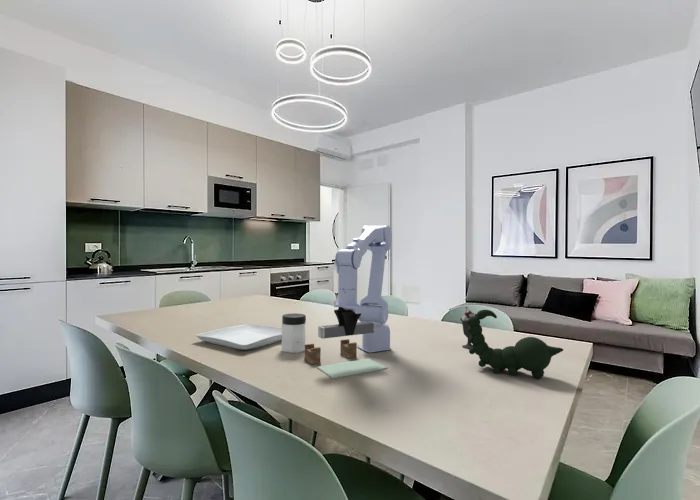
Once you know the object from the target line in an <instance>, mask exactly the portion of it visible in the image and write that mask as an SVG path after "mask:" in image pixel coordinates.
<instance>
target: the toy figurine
mask: <svg viewBox="0 0 700 500" xmlns="http://www.w3.org/2000/svg"><path fill="white" fill-rule="evenodd" d="M476 314H477V315H476V316H471V317H470V318H469V319H468V320H467V323H468V324H469V325H470V326H469V328H468V329H467V331H468V332H469V333H470V334H471V336H470V338H469V339H468V338H467V342H469V343H471V344H472V345H473V346H472V348H471V349H468V353H469V354H470V355H474V354H475V355H476V356H478V357H479V360H478V366H479V367H481V368H484V367H486V365H488V366H490V368H492V371H493V373H495V374H499V373H500V372H501V371H503V370H504V371H505V370H507V372H508V374H509V375H513V376H516V375H517V374H518V371H519V370H521V369H523V370H525V371H527V372H531V373H530V374H531V375H532V377H533V378H535V379H538V380H540V379H542V378H543V377H544V375H545V369H546V368H547V367H549V365H550V363H551V361H552V357H554V356H555V355H558V354H560V353H562V352H564V349H563V348H561V347H557V346H551V345H548V344H547V343H546V342H544V340H542V339H540V338H538V337H535V336H526V337H522V338H521V339H519V340H518V341H517V342H516V343H515V345H514V346H513V345H509V346H508V345H507V346H506V347H503V348H493V347H490V346H489V344H488V342H486V339H485V338H486V337H485V335H484V334H483V327H482V326H481V320H483V319H485V318H487V317H493V319H498V315H497V314H495V312H493V311H492V310H490V309H481V310H479V311H478V312H477V313H476Z"/></svg>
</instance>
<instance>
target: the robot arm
mask: <svg viewBox="0 0 700 500" xmlns="http://www.w3.org/2000/svg"><path fill="white" fill-rule="evenodd" d="M392 239H393V233H392V228H391V227H390V225H388V224H387V225H386V224H385V225H363V226H362V228H361V235H360V236H359V237H354V238H353V239H352V240H351V242H350V243H348V245H347V246H346V247H345V248H343V249H340V250H337V252H336V254H335V258H334V264H335V267H336V273H337V275H338V276H337V277H338V279H337V280H338V282H337V283H338V285H337V288H338V289H337V290H338V291H337V300H333V307H334V308H337V309H333V312H334V313H333V314H335V317H336V319H337V322H338V324H345V329H346V335H347V336H346V337H348V336H349V337H350V336H355V335H354V331H355V327H356V324H357V322H358V321H359V322H368V321H371V322H374V323H375V333H367V334H362V337H361V338H362V341H361V342H362V343H361V345H357V349H360V350H362V351H365V352H367V353H376V352H383V351H389V350H392V348H391V330H390V326H389V324H387V322H388V318H389V304H388V301H386V300H385V299H384V297H382V291H383V284H384V283H383V282H384V274H385V264H386V263H385V262H386V254H387V251H389V250H391V245H392ZM368 251H370V252H371V253H372V254H371V263H370V269H369V271H370V272H369V278H368V288H367V289H368V290H367V295H366V296H364V297H363V298H361V299H360V302H359V303H358V269H359V268H360V267H361V264H362V263H361V262H362V259H363V256H364V255H365V254H367V252H368Z"/></svg>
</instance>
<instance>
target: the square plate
mask: <svg viewBox="0 0 700 500" xmlns="http://www.w3.org/2000/svg"><path fill="white" fill-rule="evenodd" d="M194 336H195V337H197V339H199V340H201V341H204V342H205V343H209V344H213V345H217V346H223V347H226V348H232V349H236V350H241V351H242V350H253V349H257V348H260V347H264V346H267V344H268V345H271V344H275V343H278V342H282V327H279V326H272V325H265V324H256V323H246V324H241V325H234V326H233V325H232V326H227V327H223V328H218V329H212V330H210V331H206V332H202V333H197V334H195V335H194ZM277 341H278V342H277ZM274 342H275V343H274Z"/></svg>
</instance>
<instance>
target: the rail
mask: <svg viewBox="0 0 700 500" xmlns="http://www.w3.org/2000/svg"><path fill="white" fill-rule="evenodd" d="M317 331H318V332H317V335H318V338H320V339H332V338H341V337H348V336H347V335H346V329H345V324H339V323H337V324H327V325H318V328H317ZM367 333H375V323H374V322H371V321H368V322H360V321H359V322H358V321H357V324H356V327H355V331H354V335H353V336H356V335H357V336H358V335H363V334H367Z"/></svg>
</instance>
